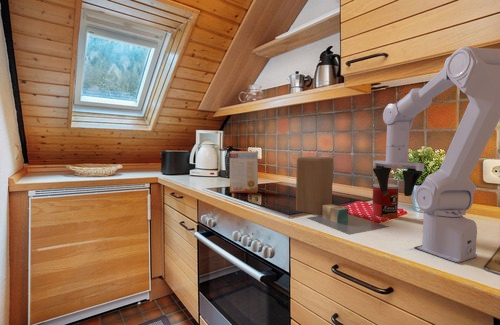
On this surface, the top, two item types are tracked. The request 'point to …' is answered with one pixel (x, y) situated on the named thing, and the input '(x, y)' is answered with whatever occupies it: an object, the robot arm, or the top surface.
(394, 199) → the canned food
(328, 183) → the block
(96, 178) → the top surface
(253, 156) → the cracker box
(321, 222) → the slate board
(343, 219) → the beech block
